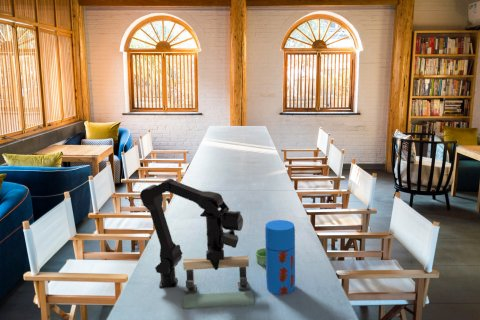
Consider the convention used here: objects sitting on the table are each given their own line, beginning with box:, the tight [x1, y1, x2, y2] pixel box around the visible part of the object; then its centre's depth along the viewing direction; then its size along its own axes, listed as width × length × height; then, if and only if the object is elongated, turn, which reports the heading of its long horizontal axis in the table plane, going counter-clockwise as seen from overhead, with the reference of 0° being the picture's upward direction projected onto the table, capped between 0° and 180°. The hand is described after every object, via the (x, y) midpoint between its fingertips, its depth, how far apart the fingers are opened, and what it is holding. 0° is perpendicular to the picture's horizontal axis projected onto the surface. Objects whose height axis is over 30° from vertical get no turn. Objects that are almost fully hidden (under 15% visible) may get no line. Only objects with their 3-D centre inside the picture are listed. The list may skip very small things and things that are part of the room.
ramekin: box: [255, 247, 266, 267], centre depth 192 cm, size 9×9×4 cm
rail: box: [182, 255, 250, 271], centre depth 168 cm, size 3×24×3 cm, turn 93°
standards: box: [184, 267, 250, 294], centre depth 170 cm, size 7×24×8 cm, turn 93°
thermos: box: [264, 219, 296, 295], centre depth 168 cm, size 11×11×25 cm
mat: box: [182, 290, 255, 310], centre depth 163 cm, size 8×25×1 cm, turn 93°
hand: (216, 267), depth 168 cm, fingers closed on rail, 3 cm apart
